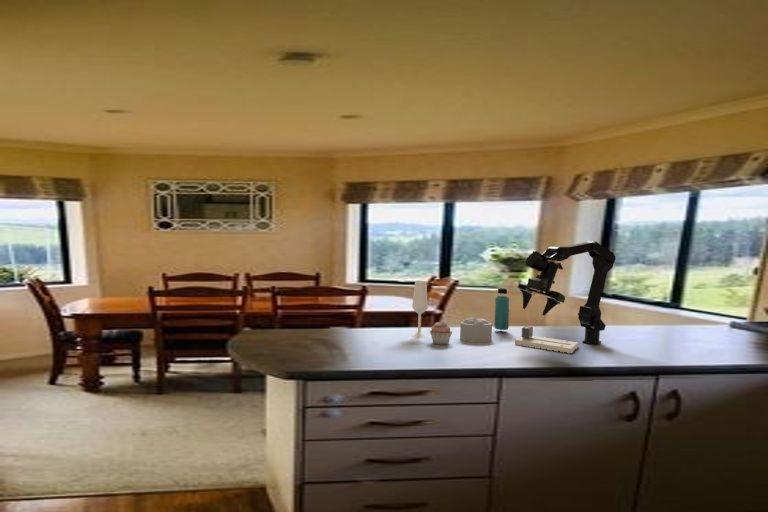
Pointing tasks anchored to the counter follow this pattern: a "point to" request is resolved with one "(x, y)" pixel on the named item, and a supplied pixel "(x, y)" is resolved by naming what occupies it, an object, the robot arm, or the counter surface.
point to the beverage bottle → (501, 310)
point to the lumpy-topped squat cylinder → (475, 330)
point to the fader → (527, 332)
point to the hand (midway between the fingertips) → (533, 312)
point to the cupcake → (440, 333)
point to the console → (547, 343)
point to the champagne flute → (420, 304)
